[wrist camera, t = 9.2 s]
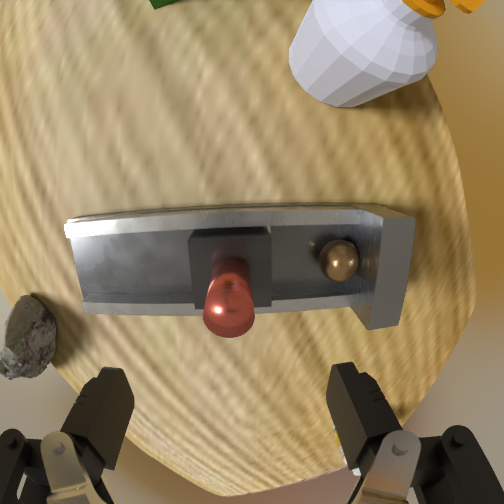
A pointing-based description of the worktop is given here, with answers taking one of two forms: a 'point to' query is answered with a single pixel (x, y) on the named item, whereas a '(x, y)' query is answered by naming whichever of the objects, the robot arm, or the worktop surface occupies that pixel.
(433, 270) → the worktop surface
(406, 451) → the robot arm
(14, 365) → the mineral rock
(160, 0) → the hardback book
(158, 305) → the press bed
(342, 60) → the soap bottle
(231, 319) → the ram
